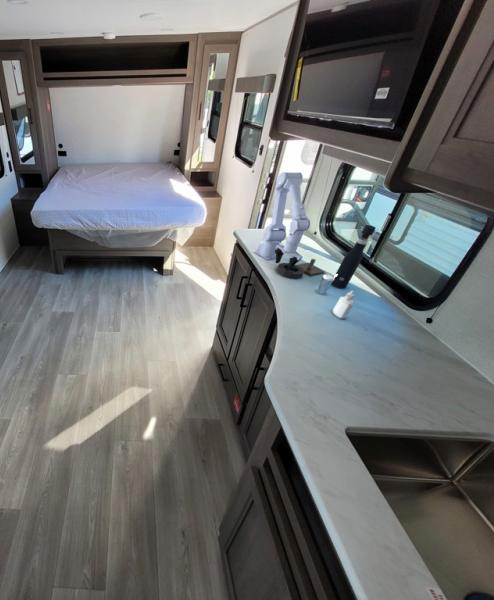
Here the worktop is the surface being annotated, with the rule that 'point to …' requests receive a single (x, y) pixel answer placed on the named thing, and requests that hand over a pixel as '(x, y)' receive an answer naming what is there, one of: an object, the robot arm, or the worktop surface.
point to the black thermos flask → (352, 260)
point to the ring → (295, 274)
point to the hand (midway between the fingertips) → (282, 266)
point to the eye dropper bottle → (344, 305)
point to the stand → (311, 268)
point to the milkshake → (325, 283)
